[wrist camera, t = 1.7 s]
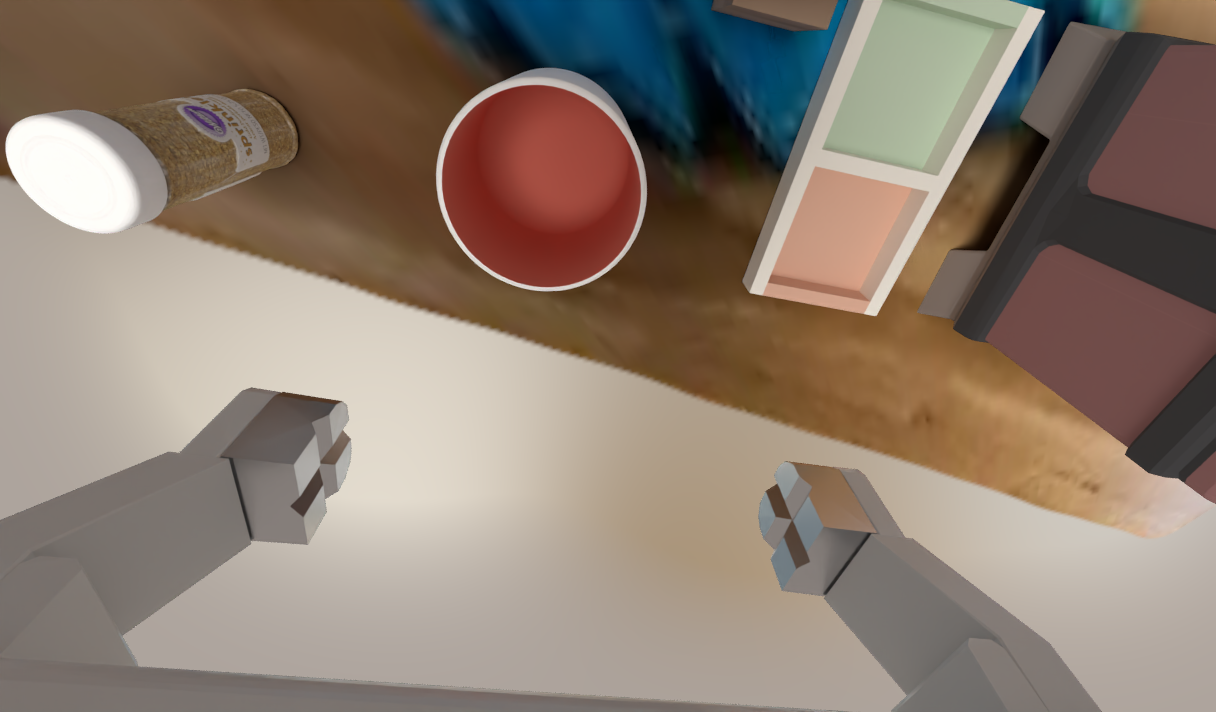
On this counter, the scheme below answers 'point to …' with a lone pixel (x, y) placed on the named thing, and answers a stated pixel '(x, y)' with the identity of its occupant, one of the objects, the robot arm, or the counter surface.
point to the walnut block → (781, 12)
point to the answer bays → (883, 144)
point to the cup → (542, 180)
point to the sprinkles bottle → (146, 155)
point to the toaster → (1112, 248)
